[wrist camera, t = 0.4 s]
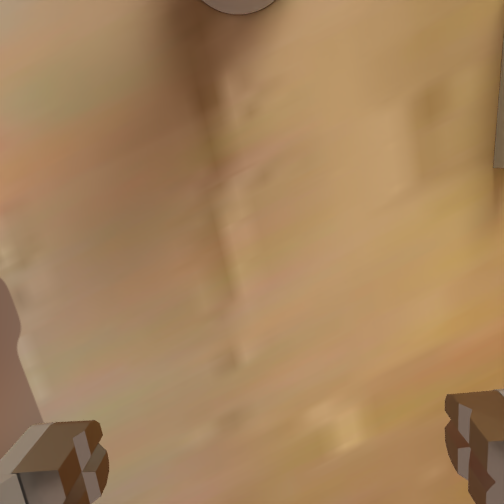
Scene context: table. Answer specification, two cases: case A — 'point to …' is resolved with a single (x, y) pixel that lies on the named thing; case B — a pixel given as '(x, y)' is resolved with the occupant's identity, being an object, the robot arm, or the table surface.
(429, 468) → the table surface
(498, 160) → the grey boxy piece
